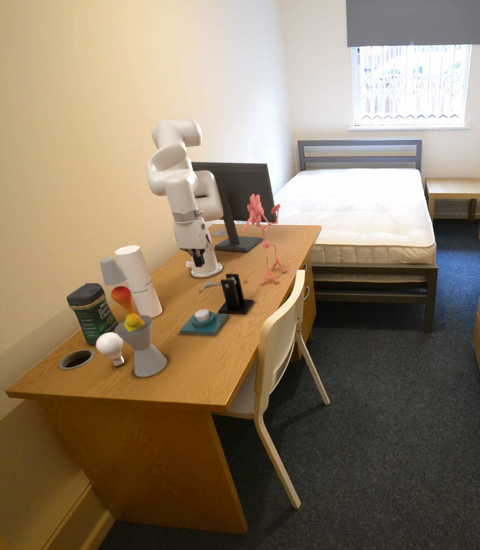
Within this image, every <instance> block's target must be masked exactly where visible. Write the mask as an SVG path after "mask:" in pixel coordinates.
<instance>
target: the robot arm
mask: <svg viewBox="0 0 480 550" xmlns="http://www.w3.org/2000/svg"><path fill="white" fill-rule="evenodd" d="M150 133H151V138H152V141H153V143H154V145H155V147H156V149H157V150H156V151H155V152H154V153H152V154H151V156H150V157H149V159H148V160H147V162H146V167H145V171H146V179H147V185H148V187H149V190H150V191H151V193H152V194H153V195H155V196H157V197H166V198H167V201H168V204H169V207H170V211H171V213H172V217H173V220H172V229H173V234H174V239H175V242H176V245H177V247H178V248H179V250H180V251H183V252H186V253H187V254H189V256H190V259H191V260H186V261H185V268H188V269H191V271H190V273H191V276H193V277H194V278H199V279H200V278H201V279H202V278H209V277H213V276H215V275H218V274H219V273H220V272H221V271H222V270H223V265H222V264H221V263H220V262H218V261H217V260H218V259H217V256H216V252H215V249H214V244H213V240H212V237H211V232H210V230H209V227H208V225H207V223H206V222H212V221H219V220H218V219H221V218H222V217H223V208H222V203H221V200H220V196H219V192H218V188H217V184H216V180H215V178H214V176H213V174H212V173H211V172H210V171H193V169H192V165H191V162H192V160H191V159H190V158H189V157H188V152H187V151H188V150H187V148H191V147H192V148H193V147H200V146H201V145H202V144H203V133H202V129H201V126H200V125H199V123H198V122H197V120H196V119H194V118H191V117H182V118H181V117H179V118H166V119H163V120H160V121H158V122H157V123H156V124H155V127H154V128H152V129H151V132H150ZM200 195H206V196H208V197H204V198H196V199H195V197H194V196H200Z"/></svg>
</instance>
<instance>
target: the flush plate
mask: <svg viewBox="0 0 480 550" xmlns="http://www.w3.org/2000/svg"><path fill="white" fill-rule="evenodd" d="M208 311H209V314H210V318H209V319H207V320H205V321H202V322H198V321H196V318H195V313H196V312H194V313H193V314H192V315H191V317H190V318H189V319H188V320H187V321H186V323H184V324H183V326H181V328H180V329H179V332H180V335H193V336H194V335H195V336H196V335H197V336H199V335H200V336H216V335H218V333H219V332H220V330H221V328H222V327H223V326H224V324H225V323H226V322H227V320H228V319H229V314H219V313H214V311H211V310H208Z"/></svg>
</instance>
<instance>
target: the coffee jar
mask: <svg viewBox="0 0 480 550" xmlns="http://www.w3.org/2000/svg"><path fill="white" fill-rule="evenodd" d="M66 301H67V304H68V307H69V308H70V309H71V310H72V311H73V313H74V314H75V316H76V319H77V322H78V323H79V326H80V328H81V332H82V334H83V337H84V340H85V342H86V344H88V345H91V346H96V342H97V340H98V338H99V337H100V336H101V335H103V334H105V333H109V332H113V333H116V332H115V328H116V327H117V325H118V324H119V322H118V320H117V319H116V317H115V315H114V313H113V311H112V309H111V307H110V306H109V303H108V301H107V297H106V292H105V290H104V288H103V286H102V285H101V284H100V283H98V282H86V283H84V284H83V285H81V286H80V287H78V288H76V289H75V290H74V291H72V292H71V293H70V294H68V295H67V296H66Z"/></svg>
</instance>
